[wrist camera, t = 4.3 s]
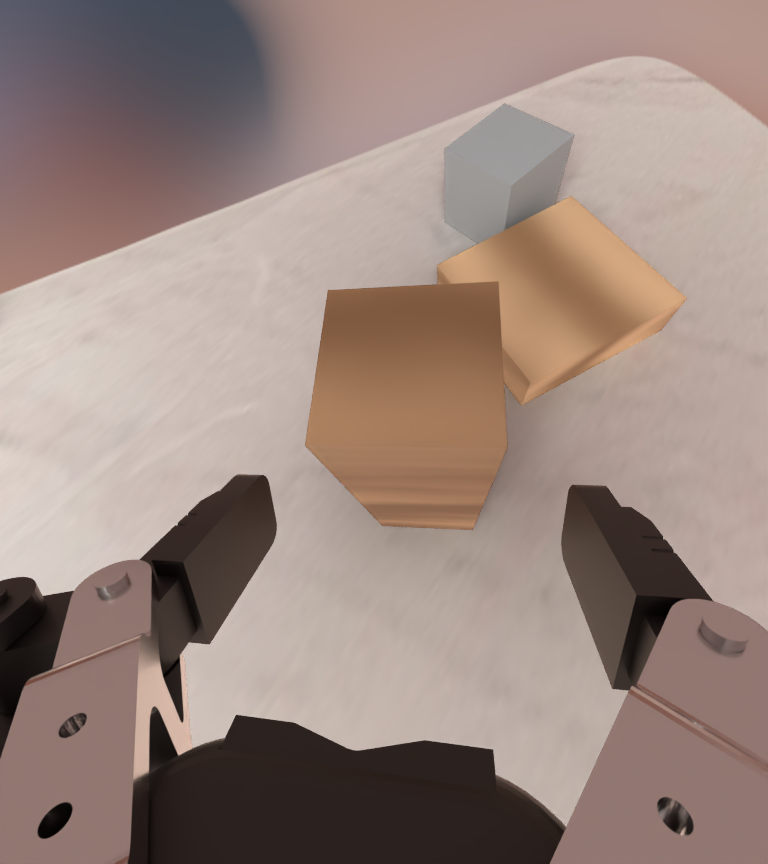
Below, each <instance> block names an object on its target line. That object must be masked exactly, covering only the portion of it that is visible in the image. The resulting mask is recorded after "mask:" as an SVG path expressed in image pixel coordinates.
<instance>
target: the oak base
mask: <svg viewBox="0 0 768 864" xmlns="http://www.w3.org/2000/svg"><path fill="white" fill-rule="evenodd" d="M437 274H438V284H457V283H476V282H495V281H499V298H500V317H501V336H502V355H503V374H504V383H505V385H506V386H507V387H508V388H509V390H510V391H511V392H512V394H513V395H514V396H515V398H516V399H517V400H518V402H519V403H520V404H521V405H523V404H525V403H527V402H529V401H531V400H533V399H534V398H536V397H538V396H540V395H542V394H544V393H546V392H547V391H549V390H551V389H553V388H555V387H557V386H558V385H560V384H562V383H564V382H566V381H568V380H570V379H571V378H573V377H575V376H577V375H579V374H581V373H582V372H584V371H586V370H588V369H590V368H592V367H594V366H595V365H597V364H599V363H601V362H603V361H605V360H607V359H608V358H610V357H612V356H614V355H616V354H618V353H619V352H621V351H623V350H625V349H627V348H629V347H631V346H632V345H634V344H636V343H638V342H640V341H642V340H644V339H645V338H647V337H649V336H651V335H653V334H655V333H656V332H658V331H660V330H661V329H662V328H663V327H664V326H665V325H666V323H667V322H668V321H669V320H670V318H671V317H672V316H673V315H674V314H675V312H676V311H677V310H678V309H679V308H680V306H681V305H682V304H683V303H684V302H685V300H686V299H687V298H686V297H685V296H684V295H683V294H682V293H680V292H679V291H678V290H677V289H676V288H675V287H674V286H673V285H671V284H670V283H669V282H668V281H667V280H666V279H665V278H663V277H662V276H661V275H660V274H659V273H658V272H657V271H656V270H654V269H653V268H652V267H651V266H650V265H649V264H648V263H647V262H645V261H644V260H643V259H642V258H641V257H640V256H639V255H638V254H636V253H635V252H634V251H633V250H632V249H631V248H630V247H628V246H627V245H626V244H625V243H624V242H623V241H622V240H621V239H619V238H618V237H617V236H616V235H615V234H614V233H613V232H612V231H610V230H609V229H608V228H607V227H606V226H605V225H604V224H603V223H601V222H600V221H599V220H598V219H597V218H596V217H595V216H593V215H592V214H591V213H590V212H589V211H588V210H587V209H586V208H584V207H583V206H582V205H581V204H580V203H579V202H578V201H577V200H575V199H574V198H573V197H572V196H570V197H568V198H566V199H564V200H563V201H561V202H559V203H557V204H555V205H553V206H551V207H549V208H547V209H545V210H543V211H541V212H539V213H537V214H535V215H533V216H531V217H529V218H528V219H526V220H524V221H522V222H520V223H518V224H516V225H514V226H512V227H510V228H508V229H506V230H504V231H502V232H500V233H498V234H496V235H494V236H493V237H491V238H489V239H487V240H485V241H483V242H481V243H479V244H477V245H475V246H473V247H471V248H469V249H467V250H465V251H463V252H461V253H459V254H458V255H456V256H454V257H452V258H450V259H448V260H446V261H444V262H442V263H440V264H438V265H437Z"/></svg>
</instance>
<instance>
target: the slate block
mask: <svg viewBox="0 0 768 864" xmlns="http://www.w3.org/2000/svg"><path fill="white" fill-rule="evenodd" d="M573 138H574V134H571V133H569V132H567V131H565V130H562V129H560V128H558V127H556V126H554V125H551V124H549V123H547V122H545V121H542V120H540V119H538V118H536V117H534V116H531V115H529V114H527V113H525V112H522V111H520V110H518V109H516V108H514V107H511V106H509V105H507V104H505V103H504V104H503V105H502V106H501V107H499V108H498V109H497V110H495V111H494V112H493V113H491V114H490V115H489V116H487V117H486V118H485V119H483V120H482V121H481V122H479V123H478V124H477V125H475V126H474V127H473V128H472V129H470V130H469V131H468V132H466V133H465V134H464V135H462V136H461V137H460V138H458V139H457V140H456V141H454V142H453V143H452V144H450V145H449V146H448V147H446V148H445V149H444V159H445V223H447V224H448V225H450V226H451V227H453V228H454V229H456V230H457V231H459V232H460V233H462V234H464V235H465V236H467V237H468V238H470V239H471V240H473V241H474V242H476V243H477V244H479V243H481V242H483V241H485V240H487V239H489V238H491V237H493V236H494V235H496V234H498V233H500V232H502V231H504V230H506V229H508V228H510V227H512V226H514V225H516V224H518V223H520V222H522V221H524V220H526V219H528V218H529V217H531V216H533V215H535V214H537V213H539V212H541V211H543V210H545V209H547V208H549V207H551V206H553V205H555V202H556V199H557V195H558V192H559V188H560V184H561V181H562V177H563V174H564V170H565V167H566V163H567V159H568V156H569V152H570V149H571V145H572V141H573Z"/></svg>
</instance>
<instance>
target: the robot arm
mask: <svg viewBox="0 0 768 864" xmlns="http://www.w3.org/2000/svg"><path fill="white" fill-rule="evenodd" d="M276 529H277V524H276V517H275V512H274V507H273V502H272V497H271V491H270V486H269V482H268V479H267V478H266V476H264V475H240V474H239V475H236V476H235V477H233V478H232V479H231V480H230V481H229V482H228V483H227V484H226V485H225V486H224V487H223V488H222V489H221V490H220V491H218V492H216V493H214V494H212V495H211V496H209V497H207V498H205V499H204V500H202V501H200V502H199V503H198V504H197V505H196V506H195V507H194V508H193V509H192V510H191V511H190V512H189V513H188V516H187V515H186V516H185V517H184V518H183V519H182V520H180V521H179V522H178V526H174V527H173V528H172V529H171V530H170V531H169V532H168V533H167V534H166V535H165V536H164V537H163V538H162V539H161V540H160V541H159V542H158V543H157V544H155V545H154V546H153V547H152V548H151V549H150V550H149V551H148V552H147V553H146V554H145V555H144V556H143V557H142V558H141V559H140V560H127V561H122V562H118V563H115V564H112V565H109V566H107V567H105V568H102V569H101V570H99V571H97V572H95V573H94V574H92V575H90V576H89V577H88V578H86V579H85V580H84V581H83V582H82V583H81V584H79V586H78V587H77V588H76V589H75V591H70V592H64V593H58V594H52V595H47V596H42V594H41V592H40V590H39V588H38V586H37V584H36V582H35V581H34V580H33V579H31V578H28V577H17V578H11V579H6V580H3V581H0V864H768V631H767V630H766V629H765V628H763V627H762V626H761V625H760V624H758V623H757V622H756V621H754V620H753V619H751V618H750V617H748V616H746V615H744V614H743V613H741V612H739V611H737V610H735V609H733V608H730V607H728V606H725V605H723V604H720V603H716V602H714V601H713V600H712V599H711V598H710V596H709V595H708V594H707V592H706V591H705V590H704V589H703V587H702V586H701V585H700V583H699V582H698V581H697V580H696V578H695V577H694V576H693V574H692V573H691V572H690V571H689V569H688V568H687V567H686V565H685V564H684V563H683V562H682V560H681V559H680V558H679V556H678V555H677V554H676V553H674V552H673V549H672V547H671V546H670V545H669V544H668V542H667V541H666V540H663V536H662V535H661V533H660V532H659V531H658V529H657V528H656V527H655V526H654V524H653V523H652V522H651V521H650V520H649V519H647V518H646V517H645V516H643V515H642V514H640V513H639V512H637V511H636V510H634V509H633V508H631V507H621V506H620V505H619V503H618V502H617V500H616V499H615V498H614V496H613V495H612V493H611V492H610V490H609V489H608V488H607V487H606V486H593V485H572V486H571V487H570V489H569V492H568V498H567V504H566V511H565V518H564V524H563V531H562V540H561V545H562V555H563V560H564V563H565V566H566V568H567V571H568V574H569V576H570V579H571V581H572V584H573V587H574V589H575V592H576V594H577V597H578V600H579V602H580V605H581V608H582V610H583V613H584V615H585V618H586V621H587V623H588V626H589V629H590V631H591V634H592V636H593V639H594V642H595V644H596V647H597V650H598V652H599V655H600V657H601V660H602V663H603V665H604V668H605V671H606V673H607V676H608V678H609V681H610V684H611V686H612V689H620V690H629V692H628V694H627V696H626V698H625V700H624V703H623V705H622V707H621V709H620V711H619V714H618V716H617V718H616V720H615V722H614V725H613V727H612V729H611V731H610V733H609V735H608V738H607V740H606V742H605V744H604V746H603V749H602V751H601V753H600V755H599V757H598V759H597V762H596V764H595V766H594V768H593V770H592V773H591V775H590V777H589V779H588V781H587V783H586V786H585V788H584V790H583V792H582V794H581V797H580V799H579V801H578V803H577V805H576V807H575V810H574V812H573V814H572V816H571V818H570V821H569V823H568V825H567V827H566V826H565V825H564V824H563V823H562V822H561V821H560V820H559V819H558V818H557V817H556V816H555V815H554V814H553V813H552V812H550V811H549V810H548V809H547V808H546V807H545V806H544V805H543V804H542V803H540V802H539V801H538V800H536V799H535V798H534V797H532V796H531V795H530V794H529V793H527V792H526V791H524V790H523V789H521V788H519V787H518V786H516V785H514V784H513V783H511V782H510V781H508V780H505V779H503V778H501V777H499V776H497V775H495V766H494V754H493V750H492V749H484V748H477V747H469V746H462V745H455V744H447V743H440V742H432V741H425V740H424V741H418V742H412V743H405V744H399V745H393V746H386V747H380V748H374V749H367V750H360V751H355V750H350V749H347V748H345V747H343V746H341V745H339V744H337V743H335V742H333V741H331V740H329V739H327V738H325V737H322V736H320V735H318V734H316V733H314V732H312V731H310V730H308V729H306V728H304V727H302V726H300V725H298V724H296V723H292V722H284V721H277V720H270V719H262V718H255V717H247V716H240V715H236V716H235V718H234V720H233V723H232V725H231V727H230V729H229V731H228V733H227V735H226V737H225V738H223V739H218V740H215V741H212V742H208V743H205V744H202V745H200V746H197V747H195V748H193V746H192V741H191V734H190V722H189V709H188V696H187V683H186V670H185V660H184V657H183V654H182V651H183V650H184V648H185V647H186V646H187V644H188V643H189V642H191V643H201V644H210V643H211V641H212V640H213V638H214V637H215V635H216V633H217V632H218V630H219V629H220V627H221V625H222V624H223V622H224V621H225V619H226V617H227V616H228V614H229V613H230V611H231V609H232V608H233V606H234V605H235V603H236V601H237V600H238V598H239V597H240V595H241V594H242V592H243V590H244V589H245V587H246V586H247V584H248V582H249V581H250V579H251V578H252V576H253V574H254V573H255V571H256V570H257V568H258V566H259V565H260V563H261V562H262V560H263V559H264V557H265V555H266V554H267V552H268V551H269V549H270V547H271V546H272V544H273V542H274V539H275V536H276Z"/></svg>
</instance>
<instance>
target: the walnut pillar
mask: <svg viewBox="0 0 768 864" xmlns="http://www.w3.org/2000/svg"><path fill="white" fill-rule="evenodd" d="M305 446H306V447H307V448H308V449H309V450H310V451H311V452H312V453H313V454H314V455H315V456H316V457H317V458H318V459H319V460H320V462H321V463H322V464H323V465H324V466H325V467H326V468H327V469H328V470H329V471H330V472H331V473H332V474H333V475H334V476H335V477H336V478H337V479H338V480H339V481H340V482H341V483H342V484H343V485H344V486H345V488H346V489H347V490H348V491H349V492H350V493H351V494H352V495H353V496H354V497H355V498H356V499H357V500H358V501H359V502H360V503H361V504H362V505H363V506H364V507H365V508H366V509H367V510H368V511H369V512H370V513H371V515H372V516H373V517H374V518H375V519H376V520H377V521H378V522H379V523H380V524H381V525H382V526H397V527H420V528H442V529H464V530H473V528H474V525H475V523H476V521H477V518H478V516H479V514H480V511H481V509H482V507H483V504H484V502H485V500H486V497H487V495H488V493H489V490H490V488H491V486H492V483H493V481H494V478H495V476H496V474H497V471H498V469H499V467H500V464H501V462H502V460H503V457H504V455H505V453H506V450H507V430H506V411H505V392H504V374H503V355H502V336H501V317H500V298H499V281H495V282H476V283H457V284H438V285H419V286H400V287H381V288H362V289H343V290H328V294H327V300H326V307H325V314H324V321H323V328H322V334H321V341H320V348H319V355H318V361H317V368H316V375H315V382H314V388H313V395H312V402H311V409H310V416H309V422H308V429H307V436H306V443H305Z"/></svg>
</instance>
